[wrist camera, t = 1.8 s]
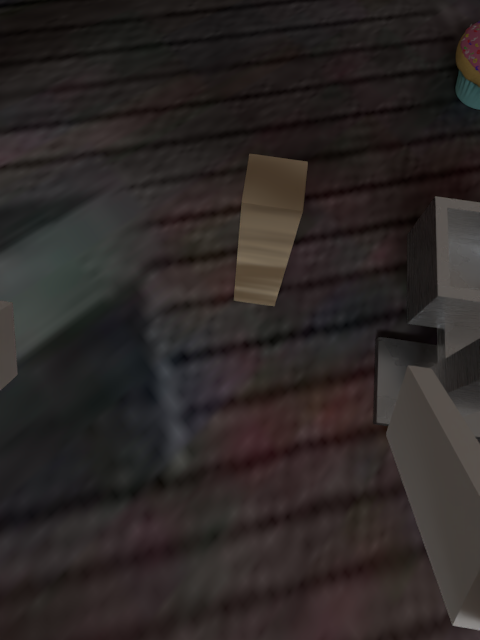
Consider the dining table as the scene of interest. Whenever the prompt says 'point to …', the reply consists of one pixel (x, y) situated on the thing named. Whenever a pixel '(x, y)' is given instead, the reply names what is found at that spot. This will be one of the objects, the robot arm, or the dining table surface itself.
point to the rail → (268, 226)
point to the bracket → (439, 311)
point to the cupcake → (469, 67)
